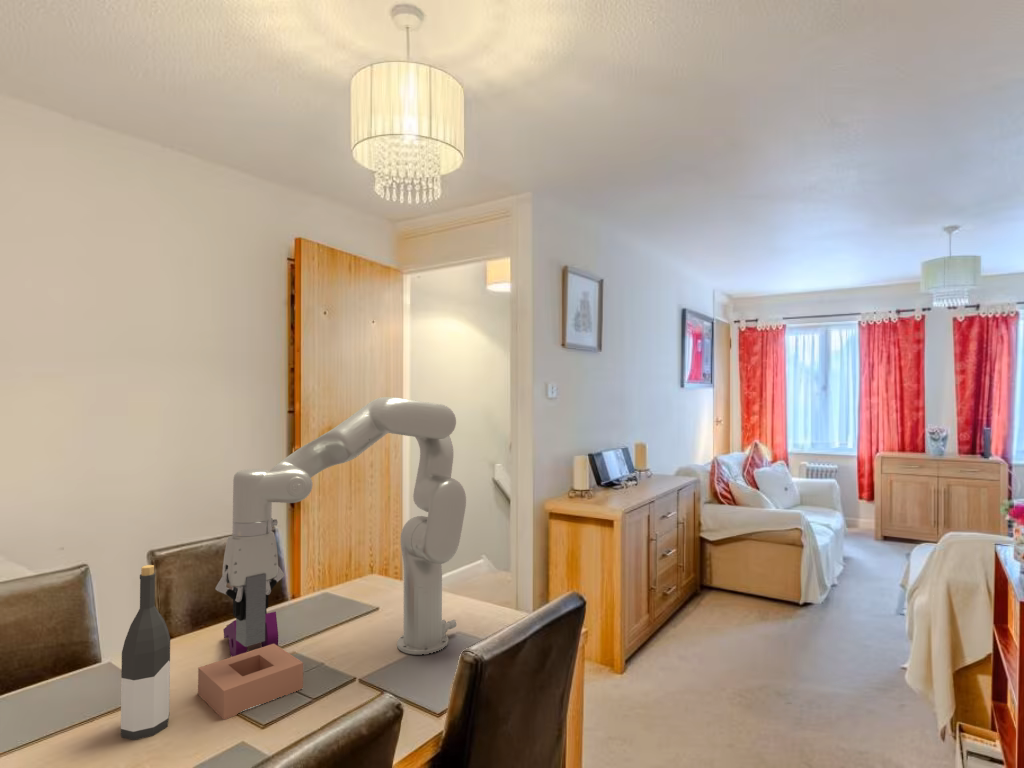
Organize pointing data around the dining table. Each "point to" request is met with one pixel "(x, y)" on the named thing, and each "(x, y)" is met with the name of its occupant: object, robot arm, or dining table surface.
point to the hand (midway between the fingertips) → (250, 614)
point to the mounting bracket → (270, 638)
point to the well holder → (249, 679)
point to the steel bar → (253, 612)
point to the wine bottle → (145, 667)
